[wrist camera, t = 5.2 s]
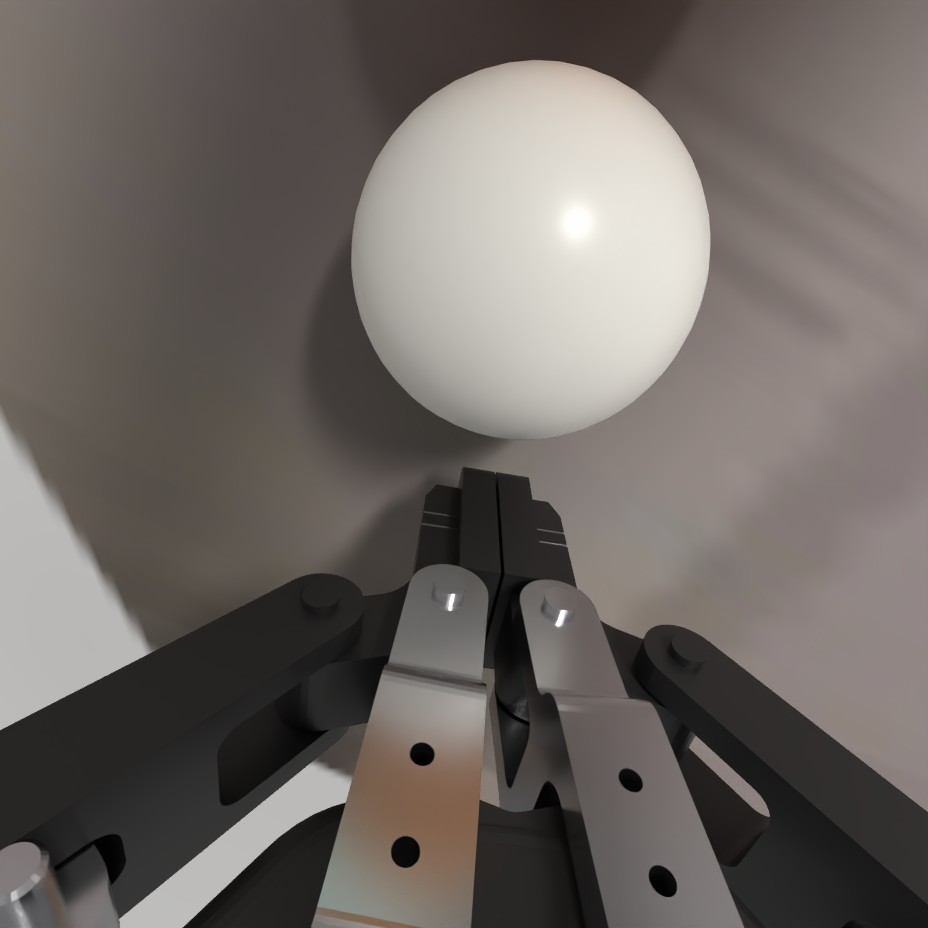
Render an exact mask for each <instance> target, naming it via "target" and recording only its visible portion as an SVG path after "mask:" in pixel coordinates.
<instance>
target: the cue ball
mask: <svg viewBox="0 0 928 928" xmlns="http://www.w3.org/2000/svg"><path fill="white" fill-rule="evenodd" d="M709 259H710V224H709V213H708V209H707V205H706V200H705V196H704V191H703V188H702V184H701V180H700V178H699V175H698V173H697V170H696V168H695V165H694V163H693V160H692V158H691V156H690V154H689V153H688V151H687V149H686V148H685V146H684V144H683V143H682V141H681V139H680V138H679V136H678V134H677V133H676V132H675V130H674V129H673V128H672V127H671V125H670V124H669V123H668V122H667V121H666V119H665V118H664V117H663V116H662V115H661V114H660V112H659V111H658V110H657V109H656V108H655V107H654V106H653V105H652V104H650V103H649V102H648V101H647V100H646V99H645V98H643V97H642V96H641V95H640V94H639V93H637V92H636V91H635V90H633V89H631V88H630V87H628V86H626V85H625V84H623V83H621V82H620V81H618V80H616V79H615V78H613V77H610V76H608V75H605V74H603V73H600V72H598V71H595V70H593V69H590V68H587V67H583V66H578V65H574V64H569V63H565V62H560V61H543V60H529V61H519V62H509V63H505V64H501V65H497V66H493V67H489V68H485V69H482V70H479V71H476V72H474V73H472V74H469V75H467V76H465V77H462V78H460V79H458V80H455V81H454V82H452V83H450V84H449V85H447V86H446V87H444V88H442V89H441V90H439V91H437V92H436V93H434V94H433V95H431V96H430V97H429V98H428V99H427V100H426V101H424V102H423V103H422V104H421V105H420V106H418V107H417V108H416V109H415V110H414V111H413V112H412V113H411V114H410V115H409V116H408V117H407V118H406V119H405V121H404V122H403V123H402V124H401V125H400V126H399V127H398V128H397V130H396V131H395V132H394V133H393V135H392V136H391V137H390V139H389V140H388V142H387V143H386V145H385V146H384V148H383V149H382V151H381V152H380V154H379V155H378V157H377V158H376V161H375V163H374V165H373V167H372V169H371V171H370V173H369V175H368V178H367V180H366V183H365V185H364V188H363V191H362V194H361V198H360V201H359V204H358V207H357V211H356V215H355V221H354V228H353V234H352V254H351V270H352V278H353V286H354V292H355V297H356V302H357V306H358V310H359V313H360V317H361V321H362V323H363V325H364V328H365V330H366V332H367V335H368V337H369V339H370V341H371V343H372V346H373V348H374V349H375V351H376V353H377V355H378V356H379V358H380V360H381V361H382V363H383V364H384V366H385V367H386V368H387V370H388V371H389V372H390V374H391V375H392V376H393V378H394V379H395V380H396V381H397V382H398V383H399V384H400V385H401V386H402V387H403V388H404V389H405V390H406V391H407V393H408V394H409V395H410V396H411V397H413V398H414V399H415V400H416V401H418V402H419V403H420V404H421V405H422V406H424V407H425V408H427V409H428V410H430V411H431V412H433V413H434V414H436V415H437V416H439V417H441V418H443V419H445V420H447V421H449V422H451V423H453V424H455V425H457V426H459V427H462V428H464V429H467V430H469V431H472V432H476V433H479V434H483V435H486V436H492V437H497V438H504V439H515V440H534V439H544V438H551V437H556V436H562V435H566V434H569V433H572V432H576V431H579V430H582V429H584V428H587V427H589V426H592V425H594V424H596V423H599V422H601V421H603V420H605V419H607V418H609V417H611V416H612V415H614V414H616V413H618V412H619V411H621V410H622V409H624V408H625V407H627V406H628V405H630V404H631V403H632V402H633V401H634V400H636V399H637V398H638V397H639V396H640V395H641V394H643V393H644V392H645V391H646V390H647V389H648V388H649V387H650V386H651V385H652V384H653V383H654V382H655V381H656V380H657V379H658V378H659V377H660V376H661V375H662V374H663V373H664V371H665V370H666V369H667V367H668V366H669V365H670V363H671V362H672V360H673V359H674V358H675V356H676V355H677V353H678V352H679V350H680V348H681V347H682V345H683V343H684V341H685V340H686V338H687V336H688V334H689V332H690V330H691V329H692V326H693V324H694V321H695V319H696V316H697V313H698V311H699V308H700V305H701V302H702V298H703V295H704V290H705V286H706V282H707V278H708V271H709Z"/></svg>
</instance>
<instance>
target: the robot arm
mask: <svg viewBox="0 0 928 928" xmlns="http://www.w3.org/2000/svg"><path fill="white" fill-rule="evenodd" d="M563 532H564V531H563V527H562V522H561V518H560V516H559V515H558V513H557V512H556V511H555V510H554V509H553V507H552V506H551V505H550V504H549V503H548V502H544V501H537V500H532V494H531V488H530V482H529V478H528V477H523V476H517V475H511V474H504V473H498V472H497V473H496V474H495V472H491V471H485V470H479V469H473V468H466V467H463V468H462V472H461V476H460V481H459V486H458V488H455V487H448V486H442V485H436V486H435V487H434V488H433V489H432V490H431V491H430V492H429V493H428V494H427V495H426V498H425V504H424V510H423V516H422V522H421V528H420V534H419V540H418V546H417V552H416V559H415V565H414V572H413V576H412V578H411V579H410V580H409V582H408V583H406V584H405V585H404V586H403V587H401V588H399V589H397V590H395V591H392V592H389V593H386V594H380V595H371V596H363V594H362V592H361V591H360V589H359V588H358V587H357V586H356V585H355V584H354V583H352V582H351V581H349V580H347V579H345V578H343V577H340V576H337V575H332V574H322V573H321V574H310V575H306V576H302V577H299V578H297V579H295V580H292V581H291V582H289V583H287V584H285V585H283V586H281V587H279V588H277V589H275V590H273V591H271V592H269V593H267V594H265V595H263V596H261V597H259V598H257V599H255V600H253V601H252V602H250V603H248V604H246V605H244V606H242V607H240V608H238V609H236V610H234V611H232V612H230V613H228V614H226V615H224V616H222V617H220V618H218V619H216V620H214V621H212V622H211V623H209V624H207V625H205V626H203V627H201V628H199V629H197V630H195V631H193V632H191V633H189V634H187V635H185V636H183V637H181V638H179V639H177V640H175V641H173V642H171V643H170V644H168V645H166V646H164V647H162V648H160V649H158V650H156V651H154V652H152V653H150V654H148V655H146V656H144V657H142V658H140V659H138V660H136V661H135V662H132V663H131V664H129V665H127V666H125V667H123V668H121V669H119V670H117V671H115V672H113V673H111V674H109V675H107V676H105V677H103V678H102V679H100V680H97V681H95V682H94V683H92V684H90V685H88V686H86V687H84V688H82V689H80V690H78V691H76V692H74V693H72V694H70V695H68V696H66V697H64V698H62V699H60V700H58V701H56V702H54V703H52V704H51V705H49V706H47V707H45V708H43V709H41V710H39V711H37V712H35V713H33V714H31V715H29V716H27V717H25V718H23V719H21V720H20V721H17V722H15V723H14V724H12V725H10V726H8V727H6V728H4V729H2V730H0V928H120V922H119V919H120V918H121V917H122V916H123V915H124V914H126V913H127V912H128V911H129V910H131V909H132V908H133V907H134V906H135V905H137V904H138V903H139V902H140V901H142V900H143V899H144V898H145V897H146V896H148V895H149V894H150V893H151V892H153V891H154V890H155V889H156V888H158V887H159V886H160V885H161V884H163V883H164V882H165V881H166V880H167V879H169V878H170V877H171V876H172V875H173V874H175V873H176V872H177V871H178V870H179V869H181V868H182V867H183V866H184V865H186V864H187V863H188V862H189V861H191V860H192V859H193V858H194V857H196V856H197V855H198V854H199V853H201V852H202V851H203V850H204V849H205V848H207V847H208V846H209V845H210V844H212V843H213V842H214V841H215V840H216V839H218V838H219V837H220V836H221V835H223V834H224V833H225V832H226V831H227V830H229V829H230V828H231V827H232V826H234V825H235V824H236V823H237V822H239V821H240V820H241V819H242V818H243V817H245V816H246V815H247V814H248V813H250V812H251V811H252V810H253V809H254V808H256V807H257V806H258V805H259V804H261V803H262V802H263V801H264V800H266V799H267V798H268V797H269V796H270V795H272V794H273V793H274V792H275V791H276V790H278V789H279V788H280V787H282V786H283V785H284V784H285V783H286V782H288V781H289V780H290V779H291V778H293V777H294V776H295V775H296V774H297V773H299V772H300V771H301V770H302V769H304V768H305V767H306V766H307V765H309V764H310V763H311V762H312V761H313V760H315V759H316V758H317V757H318V756H320V755H321V754H322V753H323V752H324V751H326V750H327V749H328V748H329V747H331V746H332V745H333V744H334V743H336V742H337V741H338V740H339V739H340V738H341V737H342V736H343V735H344V734H345V732H346V731H347V729H348V727H349V726H351V725H357V724H362V723H368V725H367V728H366V732H365V736H364V739H363V743H362V747H361V750H360V754H359V757H358V761H357V765H356V768H355V772H354V775H353V779H352V783H351V786H350V790H349V794H348V797H347V801H346V803H343V804H340V805H336V806H333V807H330V808H328V809H326V810H323V811H321V812H318V813H316V814H314V815H312V816H310V817H309V818H307V819H305V820H304V821H302V822H300V823H298V824H296V825H295V826H294V827H292V828H291V829H290V830H288V831H287V832H286V833H284V834H283V835H282V836H280V837H279V838H278V839H277V840H276V841H274V842H273V843H272V844H271V845H270V846H269V847H268V848H267V849H266V850H265V851H263V853H261V855H259V856H258V857H257V858H256V859H255V860H254V861H253V862H252V863H251V864H250V865H249V866H248V867H247V868H245V870H243V871H242V872H241V873H240V874H239V875H238V876H237V877H236V878H235V879H234V880H233V881H232V882H231V883H230V884H229V885H228V886H227V887H226V888H225V889H223V890H222V891H221V892H220V893H219V894H218V895H217V896H216V897H215V898H214V899H213V900H212V901H211V902H209V903H208V904H207V905H206V906H205V907H204V908H203V909H202V910H201V911H200V912H199V913H198V914H197V915H196V916H195V917H194V918H193V919H191V920H190V921H189V922H188V924H186V925H185V926H184V927H183V928H928V812H927V811H926V810H924V809H923V808H922V807H920V806H919V805H918V804H917V803H915V802H914V801H913V800H911V799H910V798H909V797H908V796H906V795H905V794H904V793H902V792H901V791H900V790H899V789H897V788H896V787H895V786H893V785H892V784H891V783H890V782H888V781H887V780H886V779H884V778H883V777H882V776H881V775H879V774H878V773H877V772H876V771H874V770H873V769H872V768H870V767H869V766H868V765H867V764H865V763H864V762H863V761H861V760H860V759H859V758H858V757H856V756H855V755H854V754H852V753H851V752H850V751H849V750H847V749H846V748H845V747H843V746H842V745H841V744H840V743H838V742H837V741H836V740H834V739H833V738H832V737H831V736H829V735H828V734H827V733H825V732H824V731H823V730H822V729H820V728H819V727H818V726H816V725H815V724H814V723H813V722H811V721H810V720H809V719H808V718H806V717H805V716H804V715H802V714H801V713H800V712H799V711H797V710H796V709H795V708H793V707H792V706H791V705H790V704H788V703H787V702H786V701H784V700H783V699H782V698H781V697H779V696H778V695H777V694H775V693H774V692H773V691H772V690H770V689H769V688H768V687H766V686H765V685H764V684H763V683H761V682H760V681H759V680H757V679H756V678H755V677H754V676H752V675H751V674H750V673H748V672H747V671H746V670H745V669H743V668H742V667H741V666H739V665H738V664H737V663H736V662H734V661H733V660H732V659H731V658H729V657H728V656H727V655H725V654H724V653H723V652H722V651H720V650H719V649H718V648H716V647H715V646H714V645H713V644H711V643H710V642H709V641H707V640H706V639H705V638H703V637H702V636H700V635H698V634H697V633H695V632H693V631H690V630H688V629H685V628H683V627H679V626H675V625H659V626H655V627H653V628H651V629H650V630H649V631H648V632H647V633H646V635H645V637H644V639H641V638H638V637H636V636H633V635H631V634H628V633H625V632H623V631H620V630H618V629H615V628H613V627H611V626H609V625H607V624H605V623H604V622H602V621H601V620H600V619H599V616H598V613H597V610H596V608H595V606H594V604H593V603H592V601H591V600H590V599H589V598H588V597H587V596H586V595H585V594H584V593H583V592H581V591H580V590H578V589H577V587H576V582H575V578H574V574H573V569H572V565H571V561H570V557H569V552H568V548H567V547H566V539H565V535H563ZM483 668H490V669H494V671H495V683H494V686H493V690H492V693H491V697H490V701H489V708H490V717H491V726H492V736H493V745H494V754H495V763H496V772H497V781H498V790H499V804H500V808H499V807H497V806H494V805H491V804H489V803H486V802H484V801H481V800H480V786H481V771H482V756H483V742H484V727H485V712H486V697H487V688H486V684H484V683H482V673H483ZM695 736H697V737H698V738H699V739H700V740H702V741H703V742H704V743H705V744H706V745H707V746H708V747H709V748H710V749H711V750H712V751H713V752H715V753H716V754H717V755H718V756H719V757H720V758H721V759H722V760H723V761H724V762H725V763H727V764H728V765H729V766H730V767H731V768H732V769H733V770H734V771H735V772H736V773H737V774H739V775H740V776H741V777H742V778H743V779H744V780H745V781H746V782H747V783H748V784H749V785H751V786H752V787H753V788H754V789H755V790H756V791H757V792H758V793H759V794H760V796H761V797H762V798H763V800H764V801H765V803H766V805H767V807H768V810H769V813H770V817H767V816H764V815H762V814H760V813H758V812H757V811H755V810H754V809H753V808H752V807H751V806H750V805H749V804H748V803H747V802H745V801H744V800H743V799H742V798H741V797H740V796H739V795H738V794H737V793H736V792H735V791H734V790H733V789H732V788H731V787H730V786H729V785H727V784H726V783H725V782H724V781H723V780H722V779H721V778H720V777H719V776H718V775H717V774H716V773H715V772H714V771H713V770H712V769H710V768H709V767H708V766H707V765H706V764H705V763H704V762H703V761H702V760H701V759H700V758H699V757H698V756H697V755H696V754H695V753H694V752H692V751H691V750H690V749H689V746H690V744H691V742H692V741H693V739H694V737H695Z"/></svg>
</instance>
